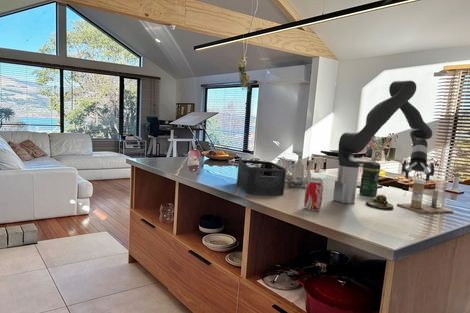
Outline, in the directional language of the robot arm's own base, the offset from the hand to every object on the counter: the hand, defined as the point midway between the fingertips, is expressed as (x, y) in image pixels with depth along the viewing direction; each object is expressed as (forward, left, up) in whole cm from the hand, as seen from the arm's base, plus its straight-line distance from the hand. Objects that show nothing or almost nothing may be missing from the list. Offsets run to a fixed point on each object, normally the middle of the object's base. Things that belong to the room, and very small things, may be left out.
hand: (416, 179), depth 162 cm
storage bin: (-69, +36, -14) cm, 79 cm away
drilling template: (-2, -8, -13) cm, 15 cm away
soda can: (-63, -4, -13) cm, 64 cm away
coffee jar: (-8, +22, -13) cm, 27 cm away
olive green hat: (-24, -2, -14) cm, 28 cm away
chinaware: (-36, +47, -14) cm, 61 cm away
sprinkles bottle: (-8, -8, -12) cm, 16 cm away
